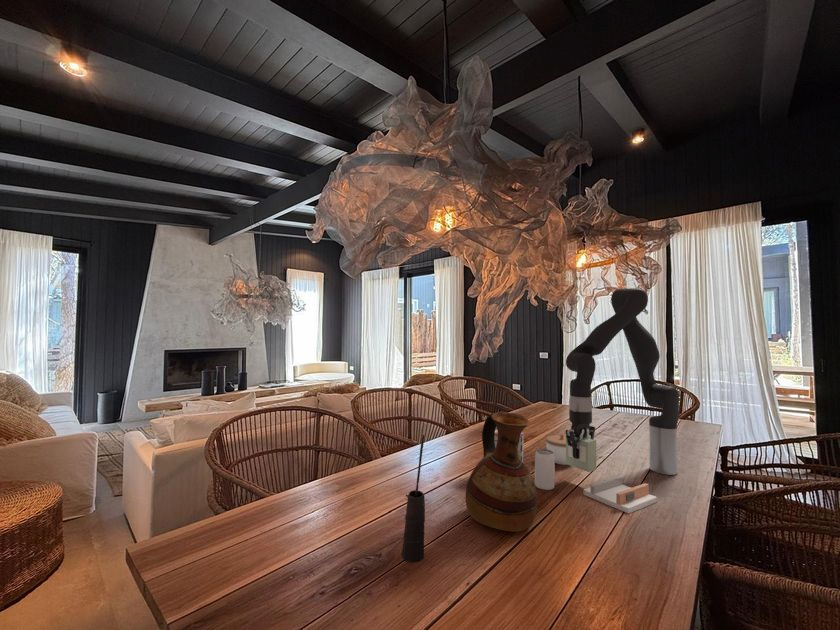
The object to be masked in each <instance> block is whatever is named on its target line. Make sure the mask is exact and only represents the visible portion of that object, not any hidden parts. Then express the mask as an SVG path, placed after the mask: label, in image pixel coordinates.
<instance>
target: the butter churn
mask: <svg viewBox="0 0 840 630" xmlns="http://www.w3.org/2000/svg"><path fill="white" fill-rule="evenodd" d="M424 441H425V434H422V437H421V443H420V451H419V459H418V460H419V461H418V467H417V468H418V469H417V477H416V486H415V489H414V490H411V491H410V492H408V494H405V497H407V498H406V499H407V500H406V509H405V510H406V511H405V512H406V513H405V516H404V519H405V523H404V532H403V538H402V539H403V540H402V548H401V549H402V550H401V555H400V556H401V559H402V560H403V561H404V562H405V561H408V562H411V563H413V562H414V563H418V562H421V561H423V560H424V558H425V522H426V505H425V503H426V502H425V501H426V500H425V498H426V497H425V493H424V492H423V491H421V490H419V483H420V474H421V468H422V456H423V451H424Z"/></svg>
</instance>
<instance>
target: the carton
mask: <svg viewBox="0 0 840 630" xmlns="http://www.w3.org/2000/svg"><path fill="white" fill-rule="evenodd" d="M575 438H576V437H575ZM576 439H579V438H576ZM575 442H576V444H577V441H575ZM571 443H572V441H571ZM566 464H568V465H567V466H572V467H574V468H576V469H579V470H582V471H585V472H587V473H588V472H593V471H596V470H597V440H595V439H587V438H582V440H581V442H580V446H579V459H575V458H573V448H572V447H571V446H568V442H567V437H566Z"/></svg>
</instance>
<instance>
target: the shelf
mask: <svg viewBox="0 0 840 630" xmlns="http://www.w3.org/2000/svg"><path fill="white" fill-rule="evenodd" d="M649 489H650V487H649V484H648V483H641V484H638V485H636V486H632V487H631V486H628V485H625V484H623V476H620V475H617V476H615V477H611V478H608V479H604V480H602V481H598V482H595V483H592V484H591V483H590V487H588V488H585V489H583V492H582V493H583V495H584V496H586V497H589V498H590V499H594V500H596V501H597V502H600V503H602V504H606V505H608V506H609V507H612V508H615V509H617V510H620V511H622V512H623V513H626V514H631V513H634V512H636V511H638V510H640V509H643V508H646V507H648V506H650V505H653V504H655V503H657V502H658V497H657V496H655V495H652V494H649V493H650V490H649Z"/></svg>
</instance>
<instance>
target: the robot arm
mask: <svg viewBox="0 0 840 630" xmlns="http://www.w3.org/2000/svg"><path fill="white" fill-rule="evenodd" d="M610 301H611V303H610V304H611V306H612V310H613V312H614V313H615V314H613V315H612V316H611V317H609V318H608V319H606V320H604V321H602V322H601V323H600V324H598V325H597V326H596V327H595V328H594V329H593V330H592V331H591V332H590V334H589V335H588V336H587V337H586V338H585V340H584V341H583V342H581V343H580V344H578V345H577V346H576V347H575V348H574V349H573V350H572V351H570V352H569V353H568V354H567V356H566V359H565V365H566V367H567V369H569V371H571V372H575V373H576V376H575V377H576V378H573V379H571V380H570V383H569V401H568V406H569V407H568V412H569V413H568V417H569V418H568V419H569V421H570V423H571V427H570V429H566V430H565V431H564V432H565V436H566V437H567V442H568V446H571V447H572V448H573V458H575V459H579V446H580V442H581V440H582V438H587V439H593V440H595V439H594V437H595V433H596V432H595V430H596V426H592V425H591V424H592V423H593V402H592V382H593V379H594V376H595V372H596V360H595V359H594V357H595V356H598V355H601V354H602V353H603V351H605V349H607V347H608V346H609V344H610V343H612V340H614V338H615V337H616V336H617V335H618V334H619V333H620V332H621V331H623V333H624V336H625V339H626V342H627V345H628V348H629V351H630V354H631V356H632V357H631V358H632V359H633V362H634V364H635V368H636V371H637V375H638V377H639V382H640V386H641V392H642V394H643V395H642V396H643V398H644V401H645V402H646V404H647V405H648V406H649V407H651V408H655V409H661V410H662V412H661V414H660V415H655V416H650V417H649V419H648V420H649V422H648V425H649V426H648V432H649V433H648V435H649V437H648V439H649V440H648V444H649V445H648V446H649V447H648V448H649V450H648V451H649V452H648V454H649V455H648V456H649V460H648V461H649V466H648V467H649V468H648V469H649V470H650V471H652V472H655V473H657V474H662V475H668V476H670V475H671V476H675V475H677V474H678V423H679V422H678V421H679V415H680V414H679V412H680V411H679V410H680V393H679V391H678V389H677V388H676V387H674V386H672V385H664V384H658V383H657V382H656V379H655V375H654V372H655V369H656V368H657V365H658V363H659V361H660V356H661V355H660V351H659V348H658V345H657V342H656V339H655V338H654V336H653V335H652V334H651V333H650V331H648V329H646V327H645V326H644V325H643V324H642V323H641V322H640V321H639V320H638V318H637V316H639V315H640V314H641V313H643V312H644V310H645V309H646V307H647V306H648V303H649V296H648V294H647V292H646V291H645V290H643V289H641V288H635V287H633V288H632V287H631V288H629V287H628V288H617V289H615V290H614V291H613V292H612V294H611V297H610ZM575 437H576V438H579V439H576V438H575ZM571 441H572V443H571ZM575 441H577V444H576V442H575Z"/></svg>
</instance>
